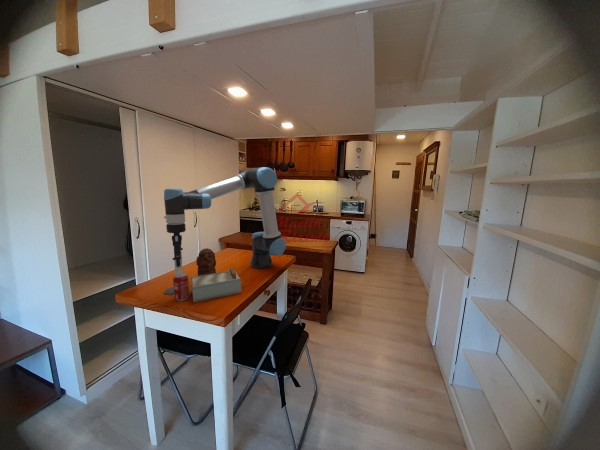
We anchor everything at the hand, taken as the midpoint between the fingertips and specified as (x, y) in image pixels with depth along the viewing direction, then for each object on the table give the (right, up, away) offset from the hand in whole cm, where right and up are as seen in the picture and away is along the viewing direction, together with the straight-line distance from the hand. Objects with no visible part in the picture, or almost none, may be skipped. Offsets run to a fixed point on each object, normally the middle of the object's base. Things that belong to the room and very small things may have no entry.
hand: (179, 268), depth 104 cm
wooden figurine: (+3, -11, +26) cm, 29 cm away
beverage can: (0, -15, +3) cm, 16 cm away
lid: (+14, -8, +9) cm, 18 cm away
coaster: (-8, -14, +11) cm, 19 cm away
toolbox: (+14, -14, +10) cm, 22 cm away
